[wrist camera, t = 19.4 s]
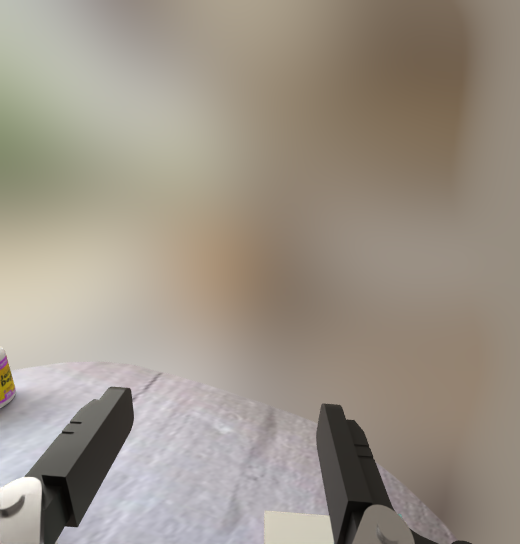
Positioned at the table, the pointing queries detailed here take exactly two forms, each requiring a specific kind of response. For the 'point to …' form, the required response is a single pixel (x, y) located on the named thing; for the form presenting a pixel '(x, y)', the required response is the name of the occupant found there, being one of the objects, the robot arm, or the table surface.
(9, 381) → the supplement bottle
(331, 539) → the stub base
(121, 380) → the table surface
